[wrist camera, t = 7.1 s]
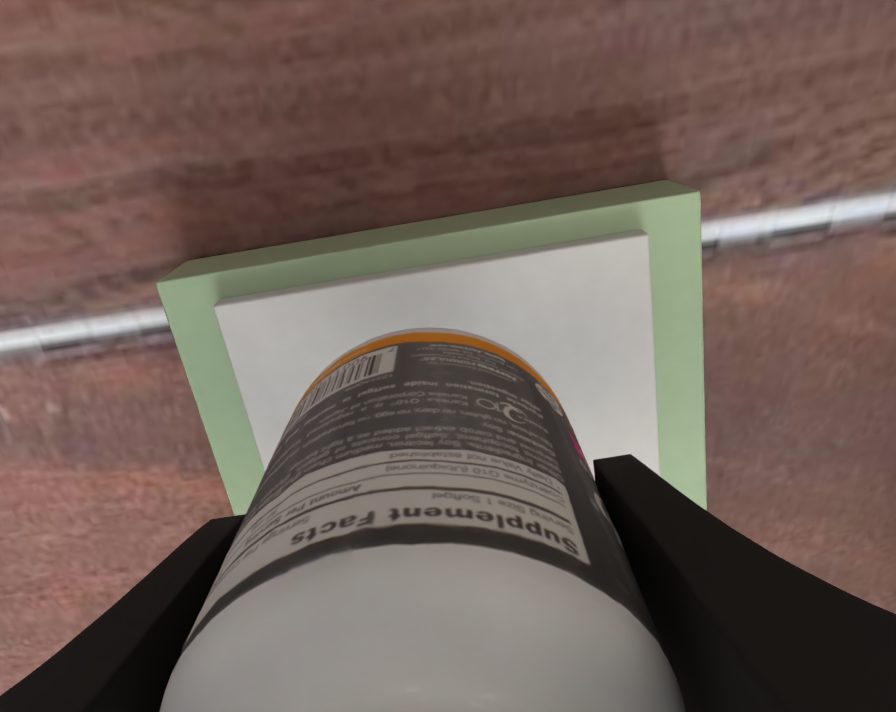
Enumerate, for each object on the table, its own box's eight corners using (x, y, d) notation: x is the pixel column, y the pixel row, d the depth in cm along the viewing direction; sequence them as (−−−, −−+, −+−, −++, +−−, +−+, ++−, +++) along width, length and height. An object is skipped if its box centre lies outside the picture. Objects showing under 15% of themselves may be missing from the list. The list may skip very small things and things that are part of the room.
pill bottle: (557, 559, 15) (766, 1352, 5) (299, 559, 15) (61, 1372, 5) (579, 316, 13) (981, 933, 3) (277, 314, 12) (-180, 952, 3)
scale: (290, 585, 23) (269, 656, 21) (186, 260, 19) (141, 291, 16) (681, 527, 23) (719, 592, 20) (668, 179, 19) (713, 195, 16)
